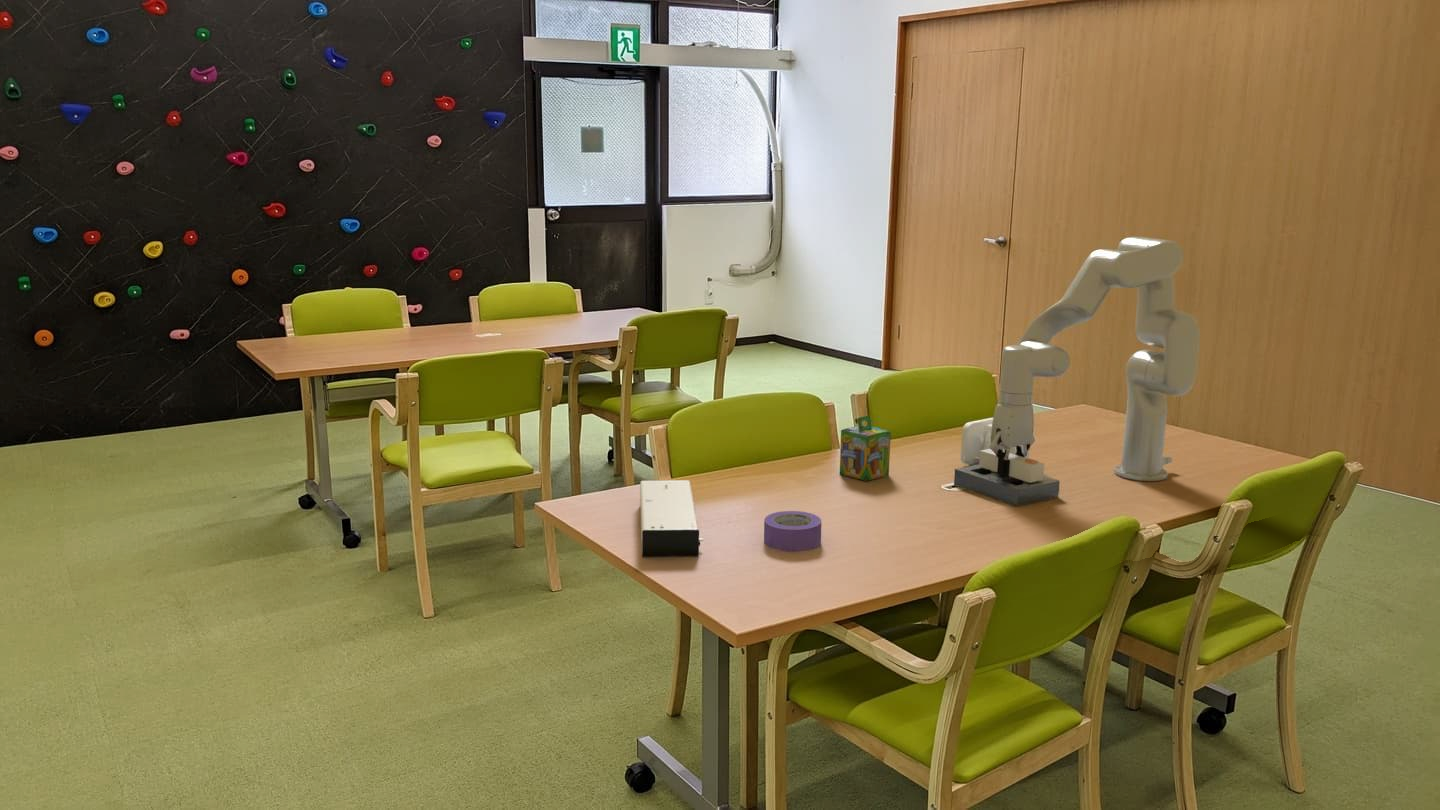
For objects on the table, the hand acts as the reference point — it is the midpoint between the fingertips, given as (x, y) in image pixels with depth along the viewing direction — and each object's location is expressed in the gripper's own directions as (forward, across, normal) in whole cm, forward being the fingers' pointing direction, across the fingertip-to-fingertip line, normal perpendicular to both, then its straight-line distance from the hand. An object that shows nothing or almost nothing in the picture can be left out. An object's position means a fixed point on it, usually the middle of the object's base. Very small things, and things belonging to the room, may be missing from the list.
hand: (1010, 472), depth 273 cm
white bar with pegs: (+4, 0, 0) cm, 4 cm away
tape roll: (+4, +66, +2) cm, 66 cm away
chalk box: (+5, +21, -28) cm, 36 cm away
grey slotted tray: (+4, +1, 0) cm, 5 cm away
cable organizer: (+5, -13, -17) cm, 22 cm away
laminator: (+5, +84, -18) cm, 86 cm away
